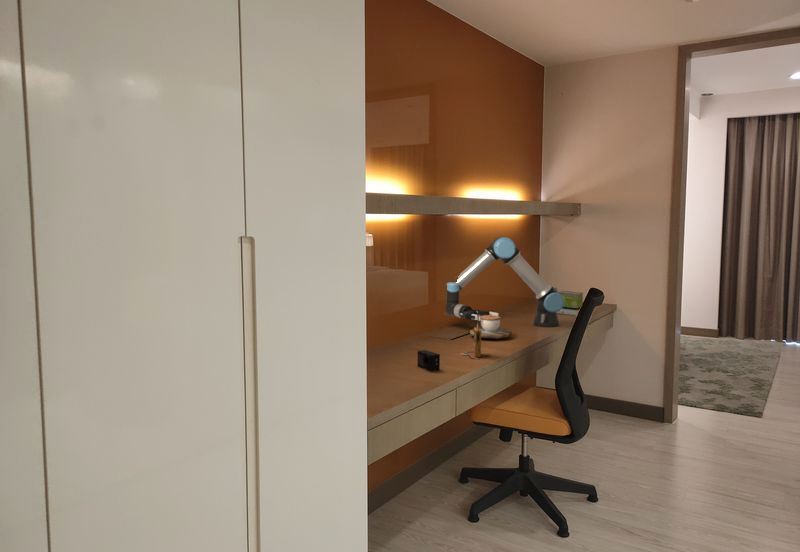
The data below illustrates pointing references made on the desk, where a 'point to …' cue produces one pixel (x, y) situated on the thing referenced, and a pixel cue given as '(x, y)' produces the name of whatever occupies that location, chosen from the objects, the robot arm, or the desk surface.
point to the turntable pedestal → (490, 338)
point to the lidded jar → (490, 322)
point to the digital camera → (428, 360)
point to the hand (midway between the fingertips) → (489, 317)
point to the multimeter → (476, 341)
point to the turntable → (493, 333)
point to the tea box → (571, 302)
